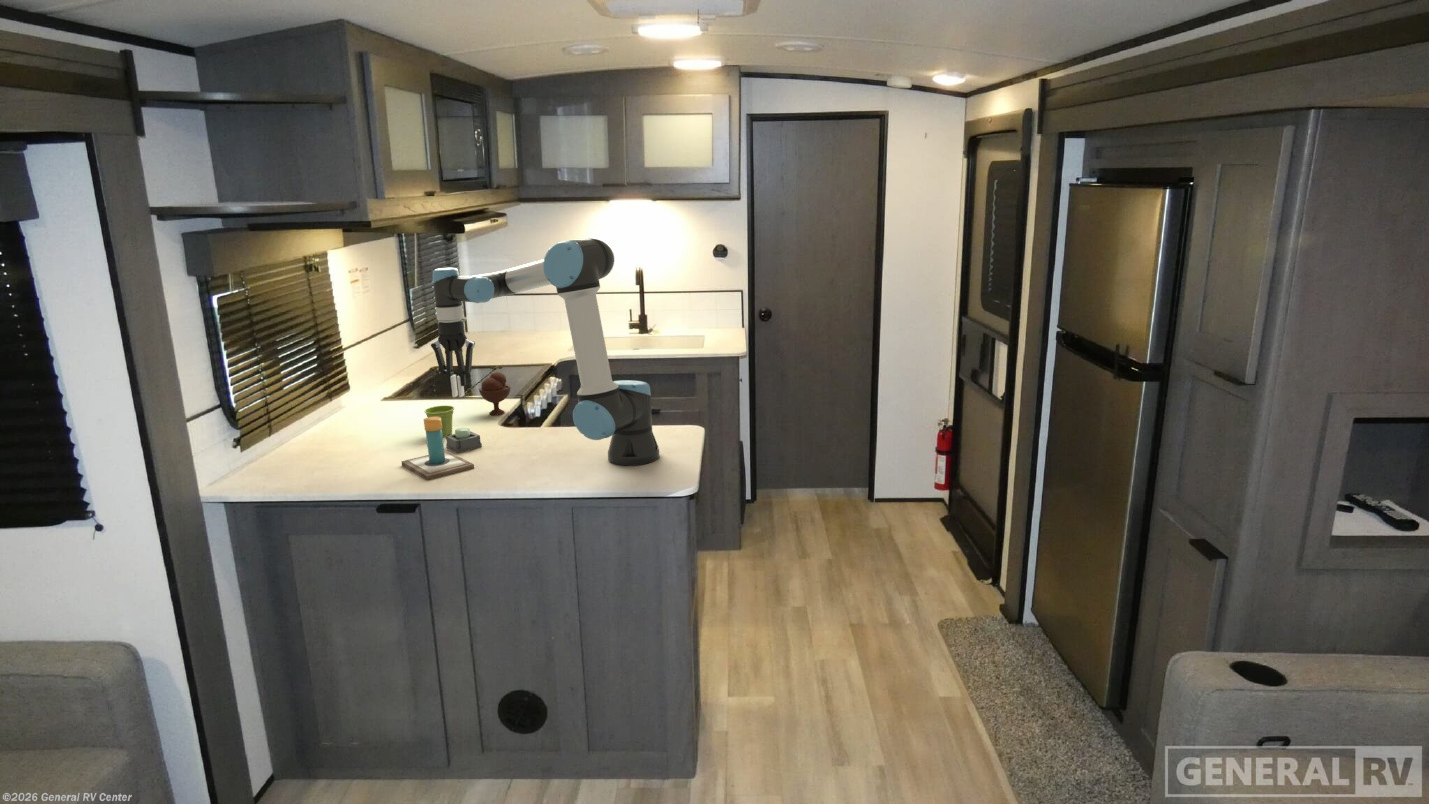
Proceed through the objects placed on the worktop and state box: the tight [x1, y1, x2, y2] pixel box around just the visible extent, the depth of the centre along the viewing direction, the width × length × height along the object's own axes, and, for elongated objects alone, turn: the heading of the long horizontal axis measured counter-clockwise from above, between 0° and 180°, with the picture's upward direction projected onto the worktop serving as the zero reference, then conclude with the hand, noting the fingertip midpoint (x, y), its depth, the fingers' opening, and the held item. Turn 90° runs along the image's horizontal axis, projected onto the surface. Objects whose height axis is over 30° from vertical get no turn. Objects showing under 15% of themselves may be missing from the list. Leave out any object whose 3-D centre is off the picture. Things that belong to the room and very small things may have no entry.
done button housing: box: [445, 431, 483, 453], centre depth 265 cm, size 8×8×4 cm
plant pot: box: [424, 405, 455, 437], centre depth 278 cm, size 9×9×9 cm
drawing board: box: [400, 450, 475, 481], centre depth 248 cm, size 18×14×2 cm
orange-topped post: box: [423, 417, 445, 464], centre depth 246 cm, size 5×5×13 cm
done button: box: [454, 427, 471, 440], centre depth 265 cm, size 4×4×3 cm
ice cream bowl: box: [478, 371, 511, 417], centre depth 301 cm, size 11×11×15 cm
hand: (458, 396), depth 262 cm, fingers closed
